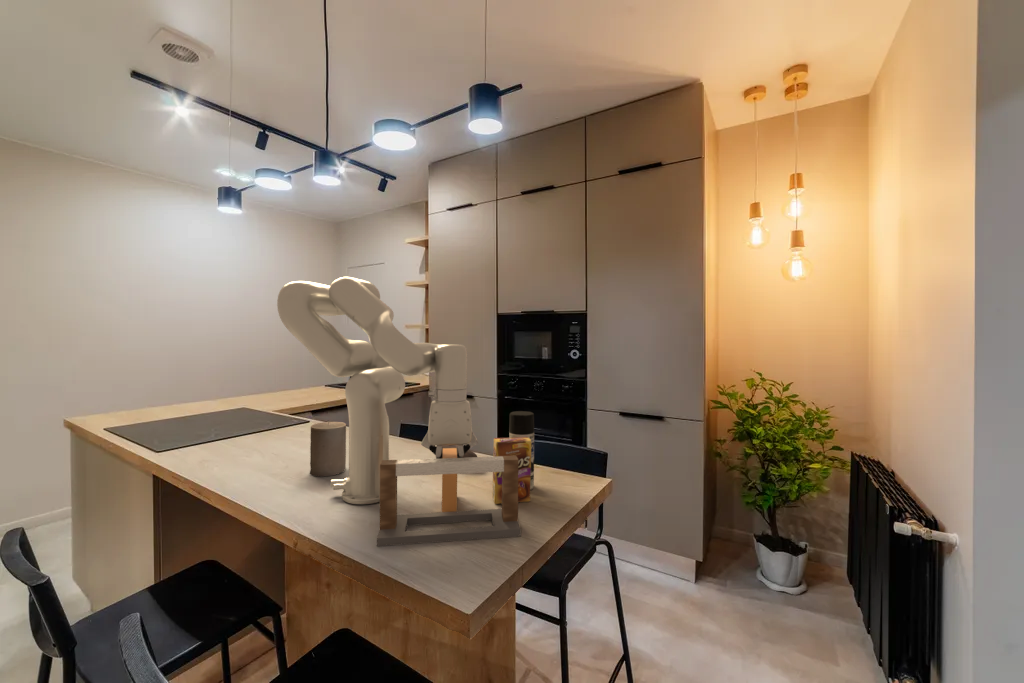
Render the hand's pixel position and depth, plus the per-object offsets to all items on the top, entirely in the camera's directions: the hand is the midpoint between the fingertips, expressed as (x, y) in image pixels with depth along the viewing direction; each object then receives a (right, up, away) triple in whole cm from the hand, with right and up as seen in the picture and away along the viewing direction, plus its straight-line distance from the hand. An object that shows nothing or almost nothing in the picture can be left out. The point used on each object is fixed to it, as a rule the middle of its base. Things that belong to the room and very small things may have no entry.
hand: (449, 471), depth 97 cm
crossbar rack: (+2, -8, -13) cm, 15 cm away
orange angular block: (0, -8, 0) cm, 8 cm away
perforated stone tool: (-1, -8, +27) cm, 28 cm away
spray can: (+17, -8, +11) cm, 22 cm away
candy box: (+15, -8, +3) cm, 17 cm away
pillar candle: (-39, -7, +22) cm, 45 cm away
